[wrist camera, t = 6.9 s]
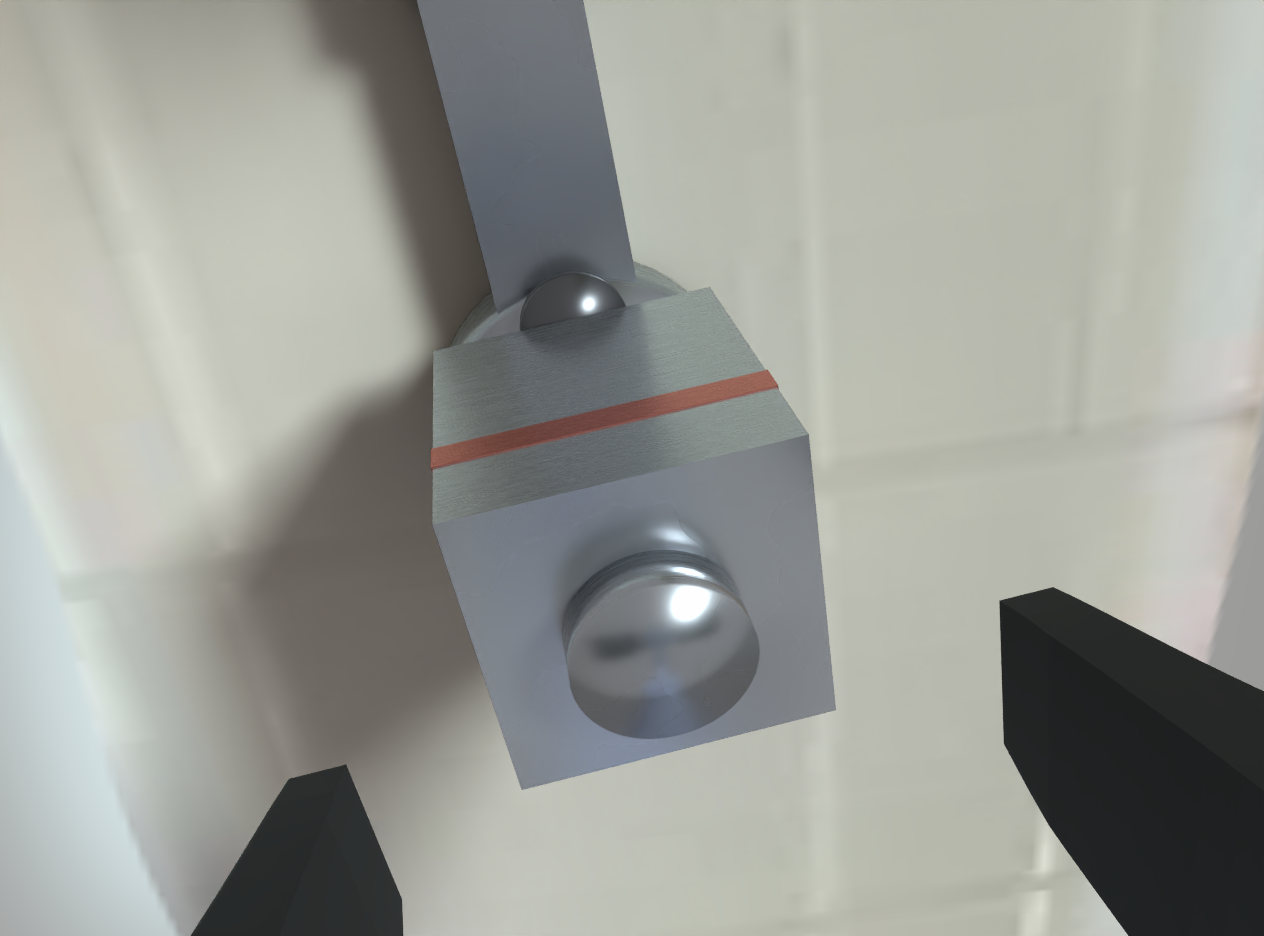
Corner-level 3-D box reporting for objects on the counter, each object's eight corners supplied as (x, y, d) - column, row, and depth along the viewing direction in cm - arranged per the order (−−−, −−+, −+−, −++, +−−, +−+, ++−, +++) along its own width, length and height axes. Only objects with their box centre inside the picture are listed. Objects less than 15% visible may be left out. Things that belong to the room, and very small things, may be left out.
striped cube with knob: (744, 517, 19) (856, 750, 14) (501, 576, 19) (524, 836, 14) (710, 285, 17) (832, 464, 12) (431, 349, 17) (429, 562, 11)
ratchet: (747, 490, 21) (814, 610, 17) (481, 554, 21) (487, 691, 17) (600, -455, 14) (654, -623, 10) (201, -380, 14) (99, -522, 10)
